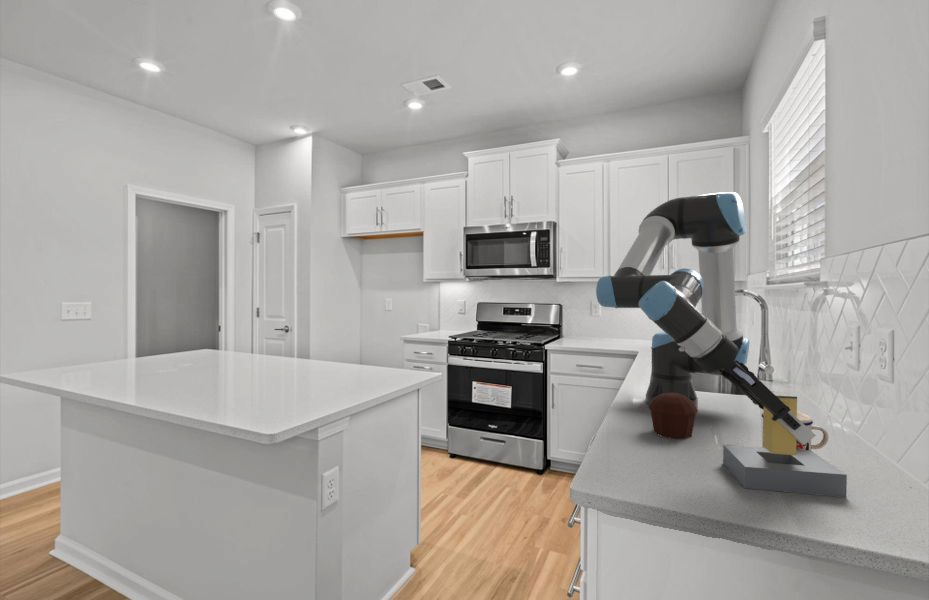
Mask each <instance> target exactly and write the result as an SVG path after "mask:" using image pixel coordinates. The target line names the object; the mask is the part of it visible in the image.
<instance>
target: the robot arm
mask: <svg viewBox="0 0 929 600" xmlns="http://www.w3.org/2000/svg"><path fill="white" fill-rule="evenodd" d="M746 231H747V224H746V214H745V209H744V205H743V201H742V199H741V197H740V195H739V194H738V193H737V192H734V191H729V192H714V193H713V192H711V193H705V194H697V195H691V196H685V197H684V196H682V197H677V198H673V199H670V200H667V201H665V202H663V203H662V204H660V205H657V206H656V207H655V208H654V209H652V210H651V211H650V212H649V213H648V214H646V216H645V217H644V218H643V220H642V221H641V223H640V224H639V227H638V235H637V237H636V238H635V240H634V241H633V243H632V245H631V246H630V247H629V250H628V252H627V253H626V255H625V256H624V259H622V262H621V263H620V265H619V267H618V269H617V270H616V271H615V273H614V274H613V275H610V274H609V275H605V276H601V277H600V278H599V279H598V281H597V283H596V287H595V289H596V290H595V295H596V299H597V302H598V305H600V306H601V307H604V308H614V309H640V310H641V311H642V312H643V313H644V314H645V315H646V316H647V318H648V319H649V320H650V321H652V322H653V323H654V324H656V326H658V328H660V329H661V330H662V332H658V333H655V334H654V335H653V336H652V338H651V347H650V349H651V379H650V381H649V385H648V388H647V390H646V393H645V403H646V404H648V403H650V402H651V401H652V399H653V398H655V397H656V396H658V395H660V394H663V393H678V394H682V395H684V396H686V397H688V398H689V399H690V400H692V402H693V403H694V405H695V406H696V408H697V409H698V406H699V400H698V399H699V398H698V396H697V392H696V390H695V387H694V383H693V379H692V377H693V374H696V375H697V374H698V375H708V376H716V377H723V378H724V379H726V380H728V381H729V382H730V383H731V384H732V385H733V386H734V387H736V388H737V389H739V390H740V391H741V393H742V394H744V395H745V396H746V397H747V398H748V399H750V400H751V402H752V403H753V404H754V405H756V406H758V408H759V409H760V410H764V407H765V408H766V409H767V410H768V411H769V412H771V413H772V414H773V415H774V417H772V418H771V419H772V420H773V421H776V420H777V421H778V422H779V423H781V424H782V425H783V426H784V427H785V428H786V429H787V430H788V431H789V432H790V433H791V434H792V435H793V436H794V437H795V438H796V439H797V440H799V441H800V442H801V443H802V444H803V445H805V444H806V443H807V442H809V441H810V440H811V441H812V439H814V438H816V436H817V435H816V434H815V433H814V432H813V431H812V429H811V430H810V429H809V428H807V427H806V426H805V425H804V424H803V423H802V422H801V421H800V420H799V419H798V418H797V417H796V416H795V415H794V414H793V413H791V412H790V408H789V407H788V406H786V405H785V404H784V403H783V402H782V401H781V400H780V399H779V398H778V397H777V396H776V395H774V394H773V393H772V392H771V391H772V390H770V389H769V388H768V387H767V386H766V385H765V384H764V383H763V382H762V380H760V379H759V378H758V377H757V376H756V375H755V373H754V372H753V371H751V370H749V367H748V366H747V362H748V356H749V352H750V351H749V349H750V339H749V338H746V337H744V332H743V330H741V329H740V328H739V327H737V311H736V310H737V309H736V307H737V306H736V284H735V283H736V282H735V260H734V259H735V258H734V257H735V255H734V247H735V246H736V245H737V244H738V243H739V242H740V239H741V238H740V236H741V237H742V236H744V235H745V233H746ZM680 239H683V240H685V239H691V246H692V247H693V248H695V249H696V250H697V251H698V269H699V270H698V271H699V273H698V271H696V270H695V269H691V268H679V269H677V270H675V271H674V272H672V273H671V274H657V275H656V274H654V275H653V274H652V273H653V272H654V269H655V268H656V265H657V263H658V261H659V258H660V257H661V255H662V253H663V251H664V249H665V247H666V246H667V245H669V244H670V243H672V241H673V240H680ZM699 301H701V311H700V310H699V309H698V308H697V306H698V303H699Z"/></svg>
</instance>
